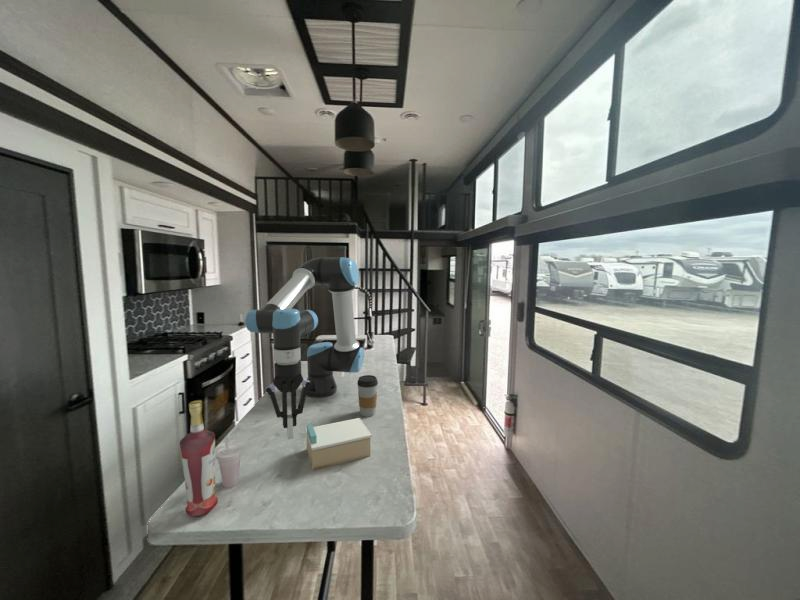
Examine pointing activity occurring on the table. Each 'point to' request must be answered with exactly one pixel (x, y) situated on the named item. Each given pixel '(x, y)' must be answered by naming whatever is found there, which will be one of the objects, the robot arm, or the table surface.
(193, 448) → the liquor
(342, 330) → the robot arm
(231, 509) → the table surface
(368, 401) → the coffee cup
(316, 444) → the lid
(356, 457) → the box
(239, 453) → the smoothie
